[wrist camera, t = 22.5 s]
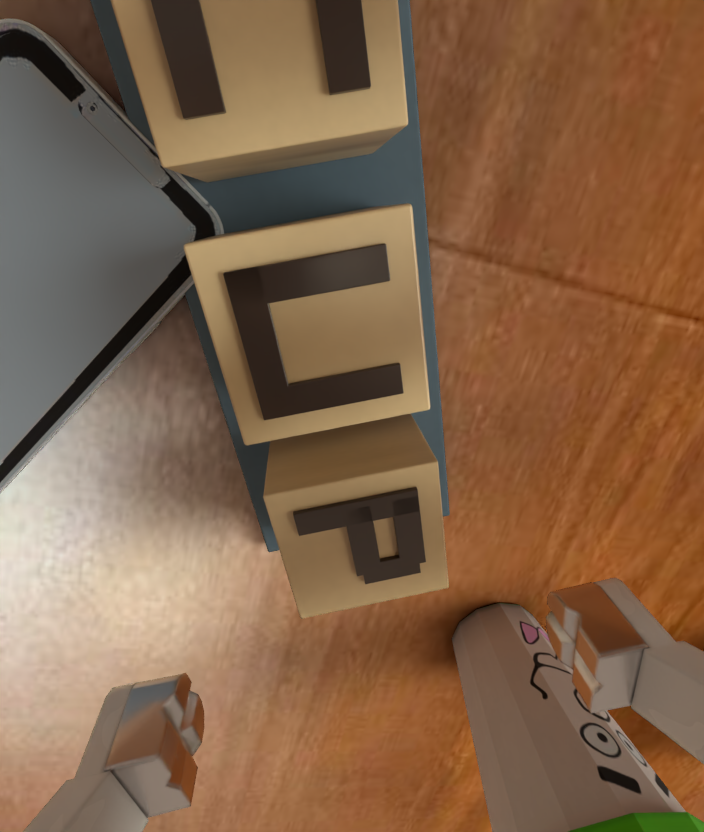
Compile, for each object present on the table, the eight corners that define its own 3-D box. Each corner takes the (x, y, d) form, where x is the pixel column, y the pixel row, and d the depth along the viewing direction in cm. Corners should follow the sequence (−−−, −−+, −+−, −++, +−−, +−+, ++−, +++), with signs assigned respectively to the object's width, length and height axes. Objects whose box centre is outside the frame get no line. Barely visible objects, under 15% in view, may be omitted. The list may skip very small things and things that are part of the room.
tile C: (141, -51, 10) (36, -228, 6) (345, -83, 11) (377, -276, 6) (205, 183, 13) (159, 167, 8) (374, 153, 13) (411, 124, 9)
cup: (592, 607, 23) (996, 1148, 10) (501, 694, 26) (725, 1226, 12) (483, 558, 21) (819, 1187, 7) (393, 659, 23) (524, 1273, 10)
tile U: (217, 235, 13) (179, 244, 9) (377, 205, 13) (414, 202, 9) (258, 385, 15) (244, 450, 11) (396, 359, 16) (433, 412, 11)
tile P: (271, 424, 16) (262, 499, 12) (403, 399, 16) (439, 463, 12) (300, 529, 18) (300, 623, 14) (416, 505, 18) (451, 592, 14)
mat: (67, -89, 10) (55, -105, 10) (393, -138, 11) (398, -158, 10) (269, 543, 19) (268, 552, 19) (446, 507, 19) (450, 515, 19)
